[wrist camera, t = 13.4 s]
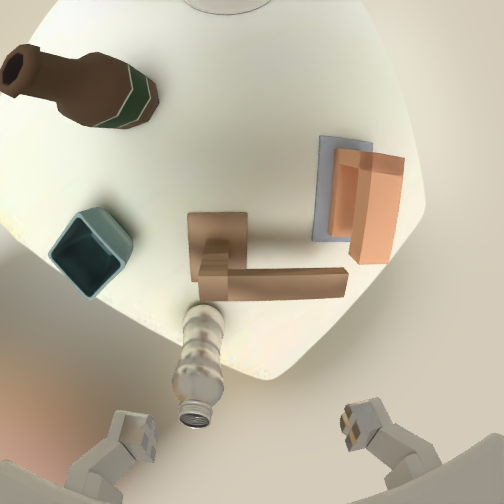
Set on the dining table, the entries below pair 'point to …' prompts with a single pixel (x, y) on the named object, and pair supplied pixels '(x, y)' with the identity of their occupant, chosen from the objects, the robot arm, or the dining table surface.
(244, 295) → the brown wooden angular piece
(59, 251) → the flower pot
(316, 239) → the felt mat
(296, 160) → the dining table surface
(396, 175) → the c link
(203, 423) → the plastic bottle
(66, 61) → the beer bottle
